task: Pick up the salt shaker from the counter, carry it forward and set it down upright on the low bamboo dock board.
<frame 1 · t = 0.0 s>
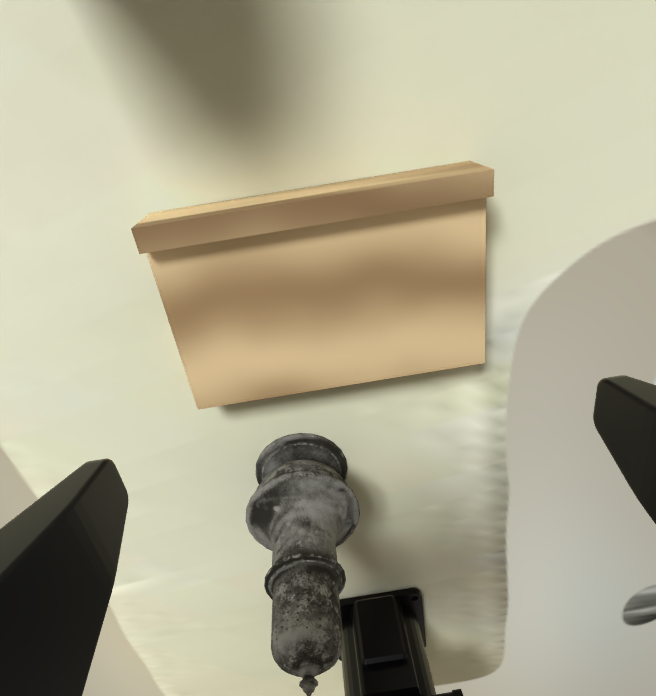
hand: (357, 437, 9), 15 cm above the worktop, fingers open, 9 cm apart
dock: (324, 284, 23), on the worktop
salt shaker: (301, 467, 28), on the worktop
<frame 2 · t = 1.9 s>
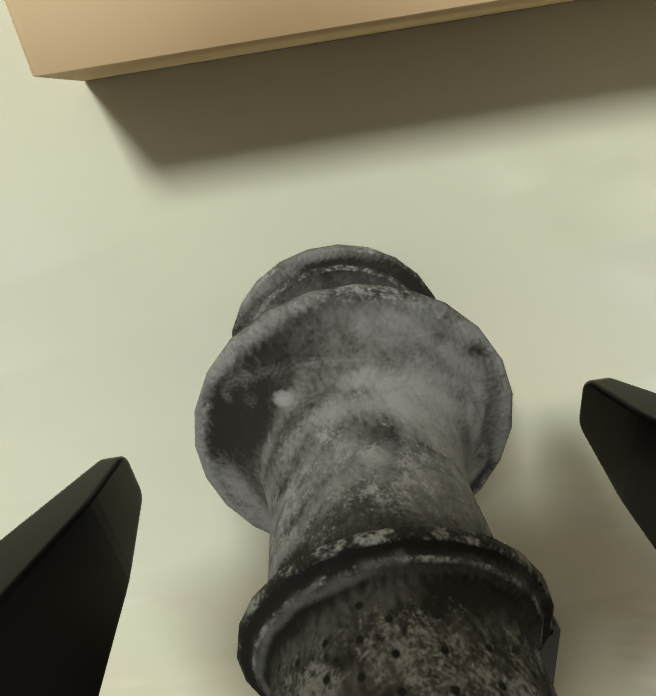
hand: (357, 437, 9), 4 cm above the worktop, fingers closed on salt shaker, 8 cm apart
salt shaker: (338, 345, 12), on the worktop, touching gripper
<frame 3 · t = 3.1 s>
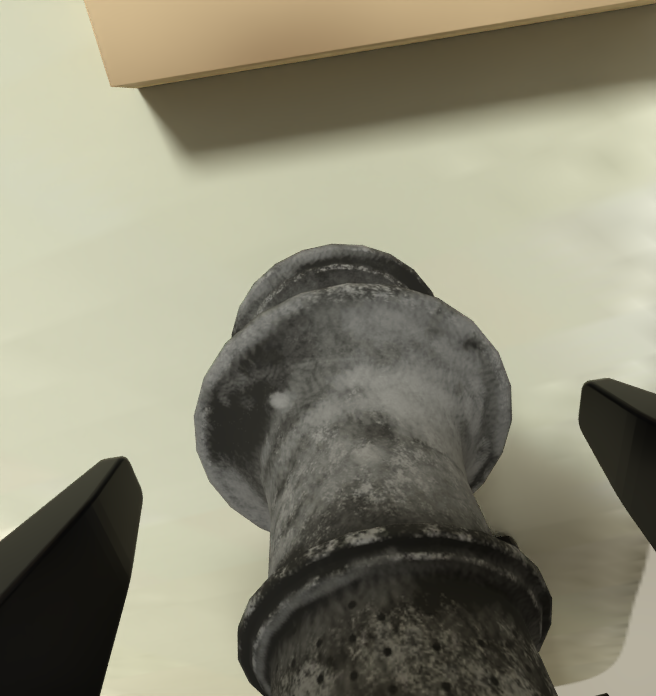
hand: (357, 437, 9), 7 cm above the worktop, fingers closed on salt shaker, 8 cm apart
salt shaker: (338, 344, 12), point 3 cm above the worktop, touching gripper
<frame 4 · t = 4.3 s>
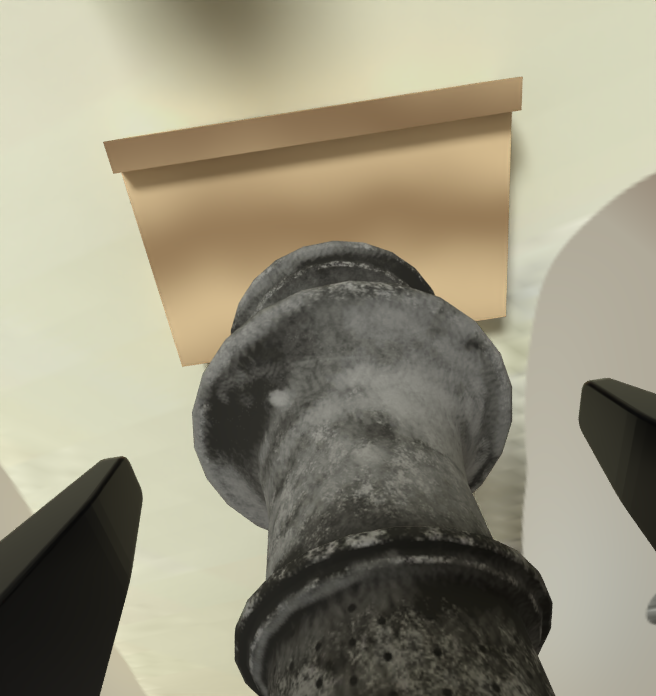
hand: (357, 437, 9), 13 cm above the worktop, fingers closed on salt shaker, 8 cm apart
dock: (326, 226, 20), on the worktop
salt shaker: (337, 341, 12), point 10 cm above the worktop, touching gripper
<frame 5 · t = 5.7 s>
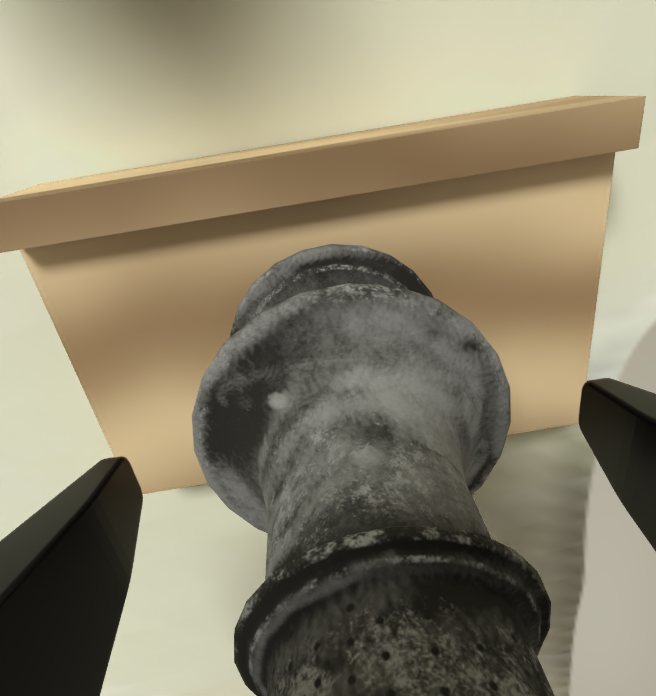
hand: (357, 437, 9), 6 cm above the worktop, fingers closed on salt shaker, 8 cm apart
dock: (330, 300, 15), on the worktop
salt shaker: (336, 344, 12), point 3 cm above the worktop, touching gripper
when the fingers open (6 cm above the worktop, at t = 6.7 s): salt shaker stays where it is, resting on dock.
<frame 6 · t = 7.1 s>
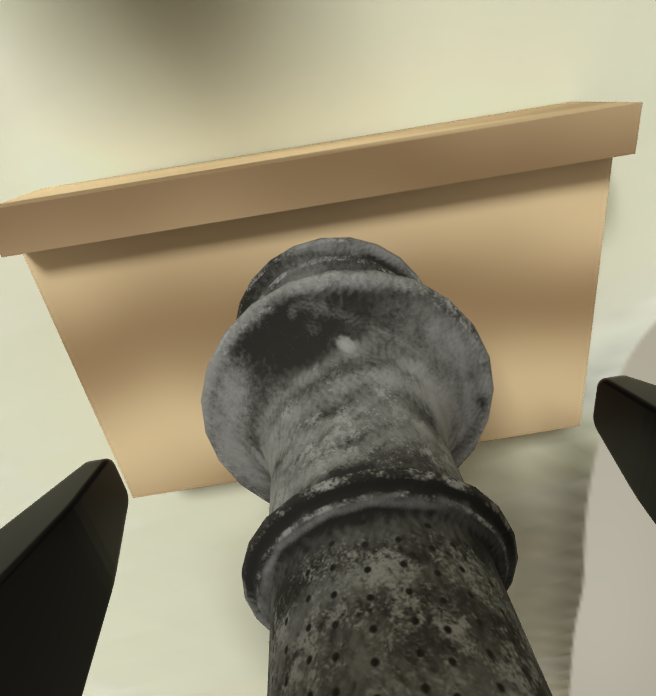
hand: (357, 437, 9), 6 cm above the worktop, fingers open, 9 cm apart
dock: (330, 304, 15), on the worktop
salt shaker: (334, 332, 13), point 2 cm above the worktop, touching dock
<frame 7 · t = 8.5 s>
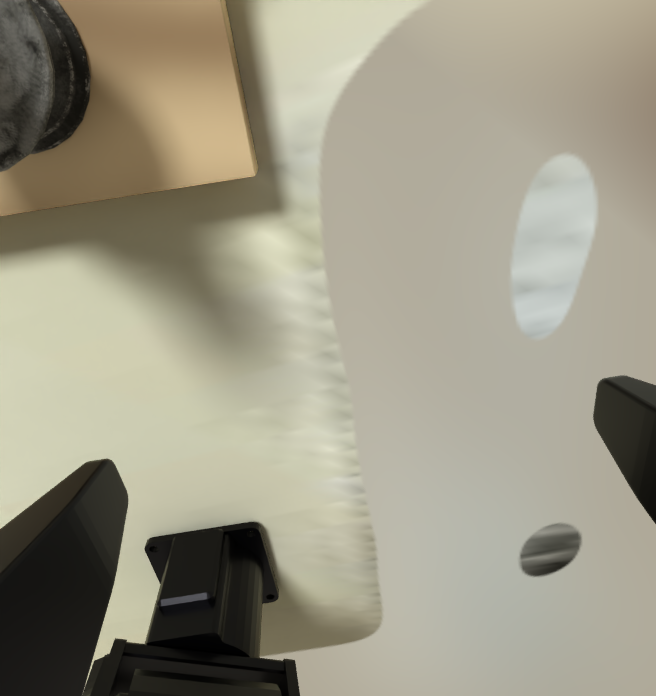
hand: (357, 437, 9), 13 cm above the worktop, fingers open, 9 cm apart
dock: (32, 64, 17), on the worktop
salt shaker: (4, 63, 15), point 2 cm above the worktop, touching dock
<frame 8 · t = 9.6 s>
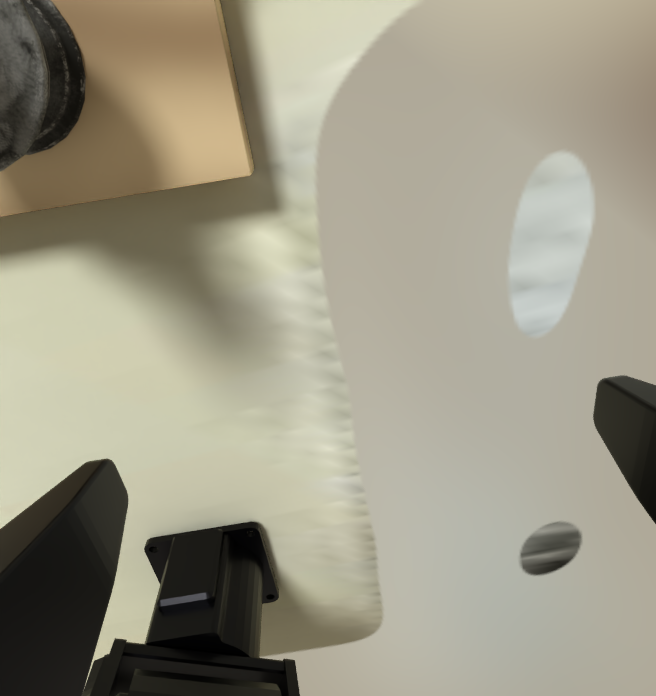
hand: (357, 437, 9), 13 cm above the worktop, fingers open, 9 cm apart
dock: (27, 65, 17), on the worktop
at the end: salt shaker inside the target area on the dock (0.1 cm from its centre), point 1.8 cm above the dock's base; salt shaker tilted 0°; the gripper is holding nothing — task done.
